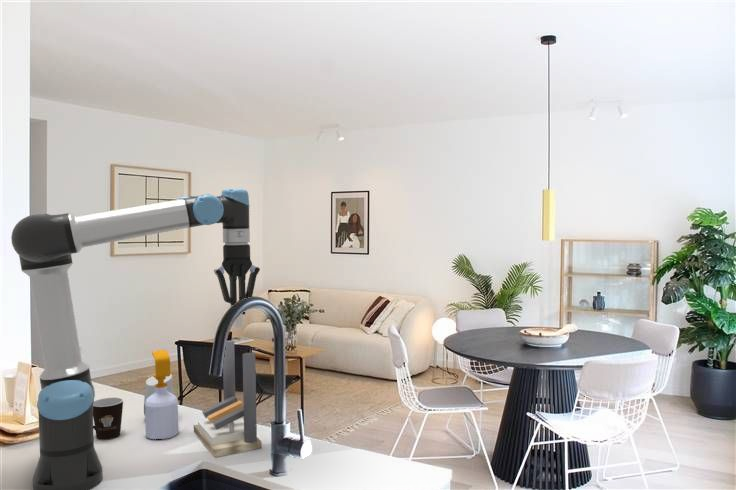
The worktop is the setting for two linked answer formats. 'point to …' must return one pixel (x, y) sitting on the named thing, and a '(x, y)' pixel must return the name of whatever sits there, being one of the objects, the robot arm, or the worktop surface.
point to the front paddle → (228, 418)
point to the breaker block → (222, 431)
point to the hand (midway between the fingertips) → (238, 326)
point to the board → (226, 445)
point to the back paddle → (219, 406)
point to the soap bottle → (161, 402)
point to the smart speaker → (151, 387)
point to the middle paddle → (225, 411)
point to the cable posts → (248, 388)
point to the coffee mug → (107, 417)
